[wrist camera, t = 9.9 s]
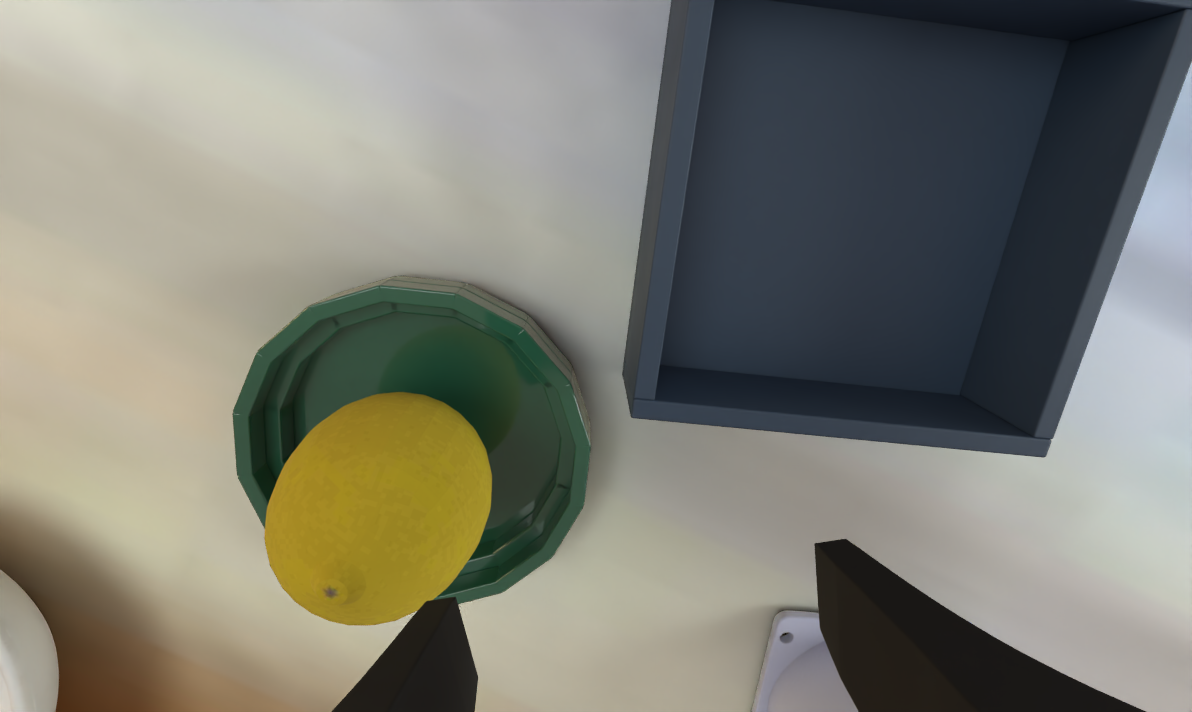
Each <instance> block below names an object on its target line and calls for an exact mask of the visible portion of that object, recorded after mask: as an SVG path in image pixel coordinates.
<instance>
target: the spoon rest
mask: <svg viewBox="0 0 1192 712" xmlns="http://www.w3.org/2000/svg"><path fill="white" fill-rule="evenodd" d="M58 687H59V669H58V658H57V652H56V647H55V643H54V640H53V637H52V633H51V631H50V629H49V626H48V624H47V622H46V620H45V619H44V617H43V615H42V613H41V612H40V610H39V609H38V608H37V606H36V605H35V603H34V602H33V601H32V600H31V598H30V597H29V596H28V595H27V593H26V592H25V591H24V590H23V589H22V588H21V587H20V586H19V585H18V584H17V583H16V582H15V581H14V580H12V579H11V578H10V577H9V576H8V575H7V574H5V573H4V572H3V571H2V570H1V569H0V712H55V711H56V705H57V699H58Z"/></svg>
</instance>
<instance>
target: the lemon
mask: <svg viewBox="0 0 1192 712" xmlns="http://www.w3.org/2000/svg"><path fill="white" fill-rule="evenodd" d="M491 493H492V473H491V469H490V464H489V460H488V456H487V452H486V448H485V447H484V445H483V443H482V441H481V439H480V437H479V436H478V434H477V432H476V430H475V429H474V427H473V426H472V425H471V424H470V423H469V422H468V421H467V420H466V419H465V418H464V417H463V416H462V415H461V414H460V413H459V412H457V411H456V410H454V409H453V408H451V407H450V406H448V405H447V404H445V403H444V402H442V401H439V400H436V399H434V398H431V397H429V396H426V395H422V394H414V393H407V392H393V393H383V394H376V395H372V396H369V397H366V398H363V399H360V400H358V401H355V402H352V403H350V404H347V405H345V406H343V407H342V408H340V409H339V410H337V411H336V412H334V413H333V414H332V415H330V416H329V417H327V418H326V419H324V420H323V421H322V422H320V423H319V424H318V425H316V426H315V427H314V428H313V429H312V430H311V431H310V432H309V433H308V434H307V436H306V437H305V438H304V439H303V441H302V442H301V443H300V444H299V446H298V447H297V448H296V449H295V451H294V452H293V453H292V454H291V456H290V457H289V459H288V460H287V462H286V463H285V465H284V467H283V469H282V471H281V473H280V475H279V477H278V480H277V482H276V485H275V487H274V490H273V492H272V495H271V498H270V500H269V503H268V507H267V512H266V522H265V544H266V549H267V554H268V558H269V562H270V566H271V568H272V570H273V571H274V573H275V575H276V577H277V579H278V581H279V583H280V584H281V586H282V588H283V589H284V590H285V591H286V592H287V593H288V594H289V595H290V596H291V598H292V599H293V600H294V601H295V602H296V603H298V604H299V605H301V606H302V607H303V608H305V609H306V610H308V611H309V612H311V613H312V614H315V615H317V616H319V617H322V618H324V619H326V620H328V621H332V622H336V623H341V624H346V625H376V624H381V623H386V622H391V621H396V620H398V619H400V618H402V617H404V616H406V615H409V614H411V613H413V612H415V611H417V610H419V609H420V608H421V606H422V605H423V604H424V603H425V602H426V601H430V600H433V599H434V598H436V597H437V596H438V595H439V594H441V593H442V592H443V591H444V590H445V589H446V588H447V587H448V586H449V585H450V584H451V583H452V582H453V581H454V579H455V578H456V577H457V576H458V574H459V573H460V571H461V570H462V569H463V567H464V566H465V564H466V563H467V562H468V560H469V559H470V557H471V556H472V554H473V553H474V551H475V549H476V548H477V546H478V544H479V541H480V539H481V536H482V533H483V530H484V527H485V525H486V522H487V519H488V516H489V512H490V508H491Z"/></svg>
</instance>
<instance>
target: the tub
mask: <svg viewBox="0 0 1192 712" xmlns="http://www.w3.org/2000/svg"><path fill="white" fill-rule="evenodd" d="M1191 62H1192V0H671V8H670V15H669V23H668V30H667V38H666V46H665V53H664V61H663V68H662V76H661V84H660V91H659V99H658V107H657V114H656V122H655V129H654V137H653V145H652V152H651V160H650V167H649V175H648V183H647V190H646V198H645V205H644V213H643V221H642V228H641V236H640V243H639V251H638V259H637V266H636V274H635V281H634V289H633V297H632V304H631V312H630V319H629V327H628V335H627V342H626V350H625V358H624V365H623V373H622V375H623V379H624V384H625V389H626V394H627V399H628V404H629V409H630V414H631V417H632V418H639V419H649V420H659V421H670V422H680V423H691V424H701V425H712V426H722V427H732V428H743V429H753V430H764V431H774V432H785V433H795V434H805V435H816V436H826V437H837V438H847V439H857V440H868V441H878V442H889V443H899V444H910V445H920V446H930V447H941V448H951V449H962V450H972V451H983V452H993V453H1003V454H1014V455H1024V456H1035V457H1046V455H1047V452H1048V449H1049V447H1050V444H1051V439H1053V437H1054V434H1055V431H1056V429H1057V426H1058V423H1059V421H1060V418H1061V415H1062V412H1063V410H1064V407H1065V404H1066V402H1067V399H1068V396H1069V393H1070V391H1071V388H1072V385H1073V382H1074V380H1075V377H1076V374H1077V372H1078V369H1079V366H1080V363H1081V361H1082V358H1083V355H1084V353H1085V350H1086V347H1087V344H1088V342H1089V339H1090V336H1091V334H1092V331H1093V328H1094V325H1095V323H1096V320H1097V317H1098V315H1099V312H1100V309H1101V306H1102V304H1103V301H1104V298H1105V296H1106V293H1107V290H1108V287H1109V285H1110V282H1111V279H1112V276H1113V274H1114V271H1115V268H1116V266H1117V263H1118V260H1119V257H1120V255H1121V252H1122V249H1123V247H1124V244H1125V241H1126V238H1127V236H1128V233H1129V230H1130V228H1131V225H1132V222H1133V219H1134V217H1135V214H1136V211H1137V209H1138V206H1139V203H1140V200H1141V198H1142V195H1143V192H1144V190H1145V187H1146V184H1147V181H1148V179H1149V176H1150V173H1151V171H1152V168H1153V165H1154V162H1155V160H1156V157H1157V154H1158V151H1159V149H1160V146H1161V143H1162V141H1163V138H1164V135H1165V132H1166V130H1167V127H1168V124H1169V122H1170V119H1171V116H1172V113H1173V111H1174V108H1175V105H1176V103H1177V100H1178V97H1179V94H1180V92H1181V89H1182V86H1183V84H1184V81H1185V78H1186V75H1187V73H1188V70H1189V67H1190V65H1191Z"/></svg>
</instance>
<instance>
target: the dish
mask: <svg viewBox="0 0 1192 712" xmlns="http://www.w3.org/2000/svg"><path fill="white" fill-rule="evenodd" d="M393 392H407V393H414V394H422V395H426V396H429V397H431V398H434V399H436V400H439V401H442V402H444V403H445V404H447V405H448V406H450V407H451V408H453V409H454V410H456V411H457V412H459V413H460V414H461V415H462V416H463V417H464V418H465V419H466V420H467V421H468V422H469V423H470V424H471V425H472V426H473V427H474V429H475V430H476V432H477V434H478V436H479V437H480V439H481V441H482V443H483V445H484V447H485V448H486V452H487V456H488V460H489V464H490V469H491V473H492V493H491V508H490V512H489V516H488V519H487V522H486V525H485V527H484V530H483V533H482V536H481V539H480V541H479V544H478V546H477V548H476V549H475V551H474V553H473V554H472V556H471V557H470V559H469V560H468V562H467V563H466V564H465V566H464V567H463V569H462V570H461V571H460V573H459V574H458V576H457V577H456V578H455V579H454V581H453V582H452V583H451V584H450V585H449V586H448V587H447V588H446V589H445V590H444V591H443V592H442V593H441V594H439V595H438V596H437V597H436V598H434V599H433V600H437V599H443V598H450V597H456V599H457V603H458V604H461V603H465V602H468V601H472V600H476V599H480V598H484V597H488V596H492V595H496V594H499V593H502V592H504V591H506V590H507V589H508V588H510V587H511V586H513V585H514V584H516V583H517V582H518V581H520V580H521V579H523V578H524V577H525V576H527V575H528V574H530V573H531V572H532V571H534V570H535V569H537V568H538V567H540V566H541V565H542V564H544V563H545V562H547V561H548V560H549V559H551V558H552V557H553V556H554V554H555V552H556V551H557V549H558V548H559V546H560V544H561V543H562V541H563V539H564V538H565V536H566V535H567V533H568V531H569V530H570V528H571V526H572V525H573V523H574V522H575V520H576V518H577V517H578V515H579V513H580V512H581V510H582V509H583V506H584V502H585V493H586V485H587V476H588V468H589V460H590V451H591V432H590V420H589V417H588V414H587V411H586V408H585V404H584V401H583V398H582V395H581V392H580V389H579V385H578V382H577V379H576V376H575V373H574V370H573V367H572V366H571V363H570V362H569V361H568V360H567V359H566V358H565V356H564V355H563V354H562V353H561V352H560V351H559V349H558V348H557V347H556V346H555V345H554V344H553V342H552V341H551V340H550V339H549V338H548V337H547V335H546V334H545V333H544V332H543V331H542V330H541V328H540V327H539V326H538V325H537V324H536V323H535V321H534V320H533V319H532V318H531V317H530V316H528V315H527V314H526V313H524V312H522V311H520V310H518V309H516V308H514V307H512V306H510V305H508V304H507V303H505V302H503V301H501V300H499V299H497V298H495V297H493V296H491V295H489V294H487V293H486V292H484V291H482V290H480V289H478V288H476V287H474V286H472V285H470V284H466V283H464V282H454V281H445V280H436V279H426V278H417V277H407V276H398V277H397V276H394V277H390V278H387V279H383V280H380V281H377V282H373V283H370V284H367V285H363V286H360V287H357V288H353V289H350V290H347V291H343V292H340V293H336V294H334V295H331V296H329V297H327V298H325V299H323V300H321V301H319V302H316V303H314V304H312V305H310V306H308V307H307V308H306V309H304V310H303V311H302V312H301V313H300V314H299V315H298V316H297V317H295V318H294V319H293V320H292V321H291V322H290V323H289V324H287V325H286V326H285V327H284V328H283V329H282V330H281V331H280V332H278V333H277V334H276V335H275V336H274V337H273V338H272V339H270V340H269V341H268V342H267V343H266V344H265V345H264V346H262V347H261V348H260V349H259V350H258V352H257V353H256V355H255V358H254V360H253V363H252V365H251V368H250V370H249V373H248V375H247V378H246V380H245V383H244V385H243V387H242V390H241V392H240V395H239V397H238V400H237V402H236V405H235V407H234V410H233V427H234V440H235V454H236V468H237V476H238V479H239V481H240V483H241V485H242V487H243V488H244V490H245V492H246V494H247V496H248V498H249V500H250V502H251V504H252V506H253V507H254V509H255V511H256V513H257V515H258V517H259V519H260V521H261V523H262V525H263V526H264V528H265V522H266V512H267V507H268V503H269V500H270V498H271V495H272V492H273V490H274V487H275V485H276V482H277V480H278V477H279V475H280V473H281V471H282V469H283V467H284V465H285V463H286V462H287V460H288V459H289V457H290V456H291V454H292V453H293V452H294V451H295V449H296V448H297V447H298V446H299V444H300V443H301V442H302V441H303V439H304V438H305V437H306V436H307V434H308V433H309V432H310V431H311V430H312V429H313V428H314V427H315V426H316V425H318V424H319V423H320V422H322V421H323V420H324V419H326V418H327V417H329V416H330V415H332V414H333V413H334V412H336V411H337V410H339V409H340V408H342V407H343V406H345V405H347V404H350V403H352V402H355V401H358V400H360V399H363V398H366V397H369V396H372V395H376V394H383V393H393Z"/></svg>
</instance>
